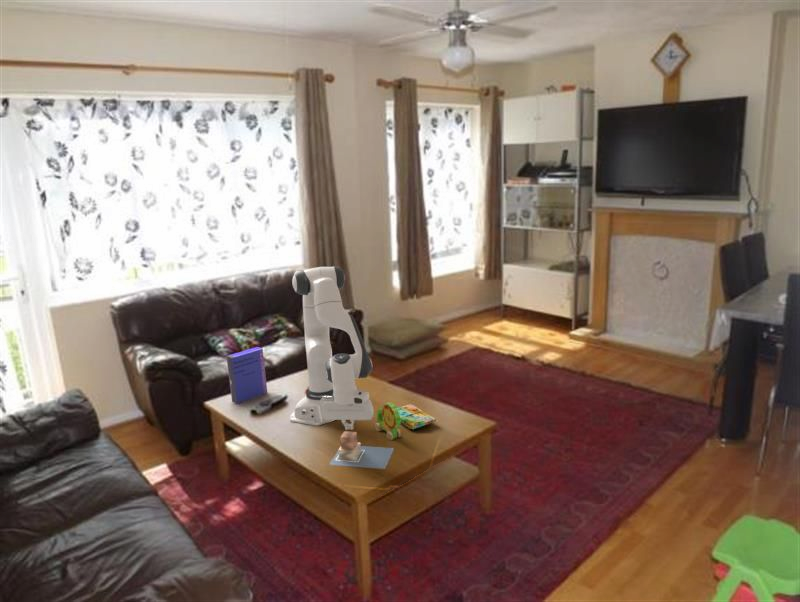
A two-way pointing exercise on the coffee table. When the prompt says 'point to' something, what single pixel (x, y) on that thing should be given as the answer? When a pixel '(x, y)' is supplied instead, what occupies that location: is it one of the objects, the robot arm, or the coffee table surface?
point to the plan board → (367, 458)
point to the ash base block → (350, 453)
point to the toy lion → (388, 420)
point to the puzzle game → (414, 417)
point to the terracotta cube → (348, 440)
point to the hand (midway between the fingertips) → (349, 429)
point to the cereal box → (247, 374)
